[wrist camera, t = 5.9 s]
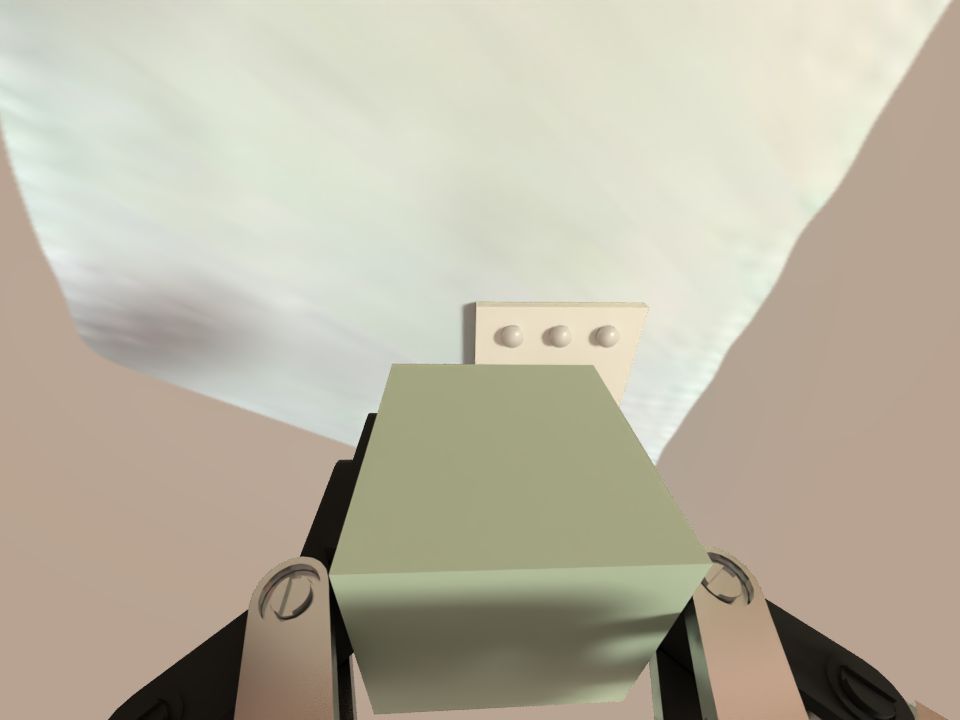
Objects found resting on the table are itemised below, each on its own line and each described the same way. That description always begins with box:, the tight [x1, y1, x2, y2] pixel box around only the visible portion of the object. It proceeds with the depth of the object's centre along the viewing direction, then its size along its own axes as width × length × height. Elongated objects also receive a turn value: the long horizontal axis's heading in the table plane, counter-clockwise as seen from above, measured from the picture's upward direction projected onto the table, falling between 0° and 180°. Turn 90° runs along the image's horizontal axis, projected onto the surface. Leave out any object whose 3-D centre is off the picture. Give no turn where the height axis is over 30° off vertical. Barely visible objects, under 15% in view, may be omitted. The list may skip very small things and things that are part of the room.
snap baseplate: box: [475, 302, 649, 408], centre depth 34 cm, size 18×14×2 cm
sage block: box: [329, 364, 713, 714], centre depth 9 cm, size 6×6×6 cm
